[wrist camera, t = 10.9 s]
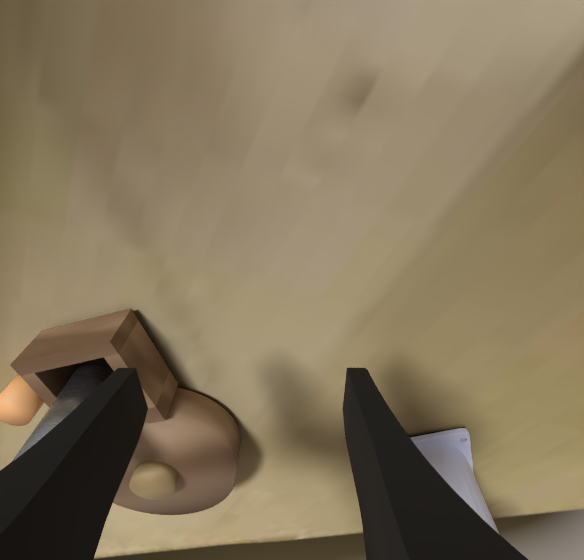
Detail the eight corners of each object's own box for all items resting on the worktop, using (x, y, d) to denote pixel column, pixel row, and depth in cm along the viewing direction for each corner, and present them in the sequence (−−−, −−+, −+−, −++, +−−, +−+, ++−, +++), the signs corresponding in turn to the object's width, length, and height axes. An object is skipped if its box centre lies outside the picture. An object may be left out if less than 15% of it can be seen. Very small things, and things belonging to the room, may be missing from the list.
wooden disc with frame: (259, 465, 30) (255, 517, 27) (138, 485, 32) (120, 537, 28) (167, 299, 22) (144, 344, 18) (9, 338, 23) (-41, 387, 20)
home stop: (64, 385, 26) (39, 421, 23) (36, 392, 26) (8, 428, 24) (43, 361, 25) (14, 396, 22) (13, 369, 25) (-19, 404, 23)
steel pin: (139, 372, 24) (78, 496, 17) (109, 391, 25) (40, 516, 18) (102, 344, 23) (21, 466, 16) (72, 365, 24) (-16, 488, 17)
